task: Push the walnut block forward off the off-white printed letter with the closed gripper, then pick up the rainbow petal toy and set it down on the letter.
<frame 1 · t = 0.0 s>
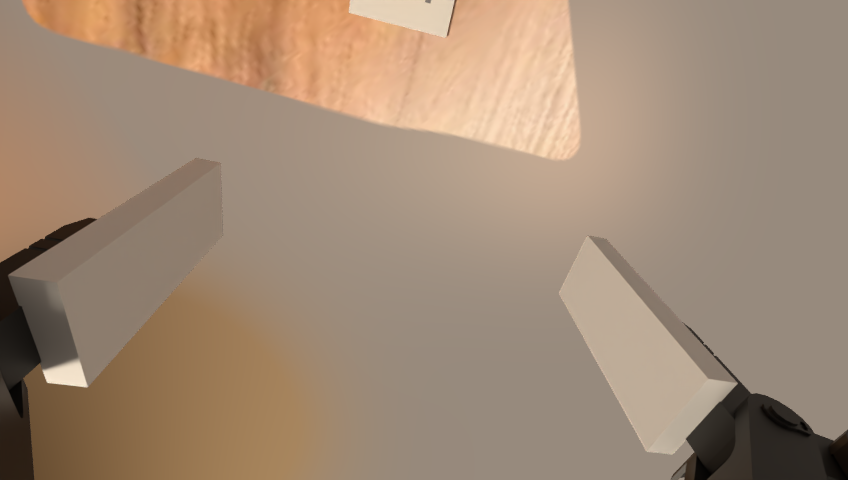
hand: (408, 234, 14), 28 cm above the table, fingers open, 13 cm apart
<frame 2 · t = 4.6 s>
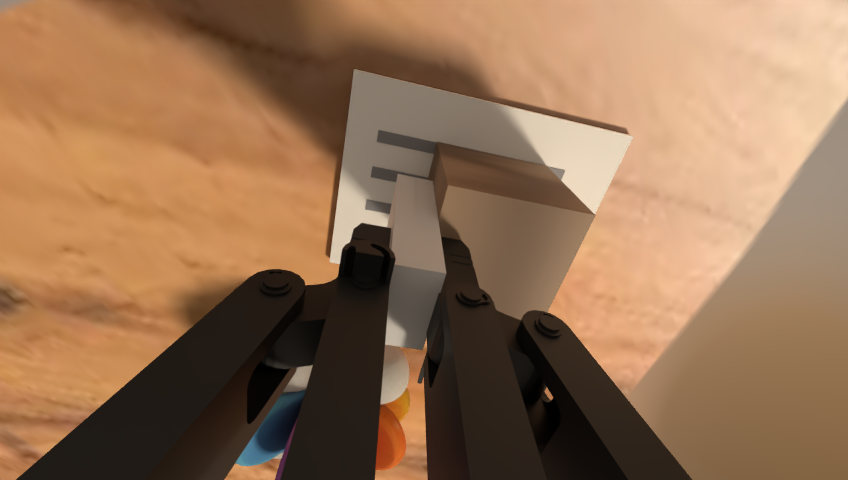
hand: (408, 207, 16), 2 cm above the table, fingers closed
rainbow petal toy: (332, 365, 23), on the table
walnut block: (476, 205, 18), resting on letter, touching gripper
letter: (469, 201, 18), on the table
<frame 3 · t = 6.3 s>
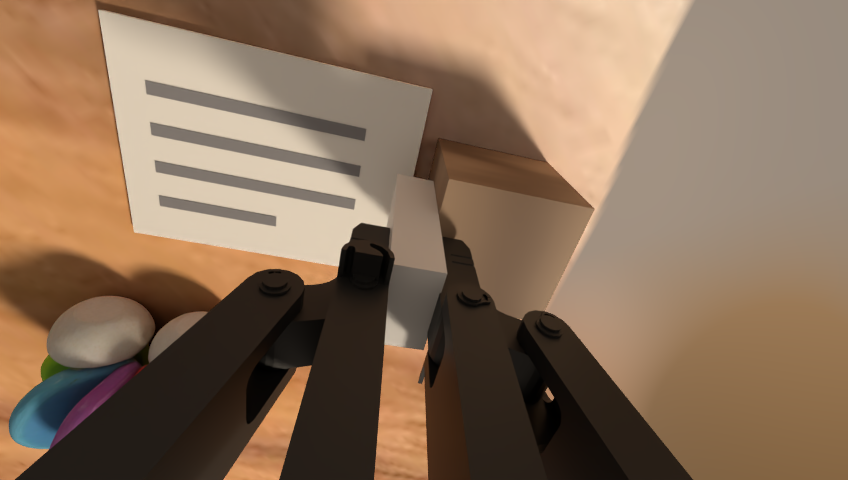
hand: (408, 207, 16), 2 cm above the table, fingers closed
rainbow petal toy: (177, 346, 22), on the table
walnut block: (477, 201, 18), on the table
letter: (273, 164, 16), on the table
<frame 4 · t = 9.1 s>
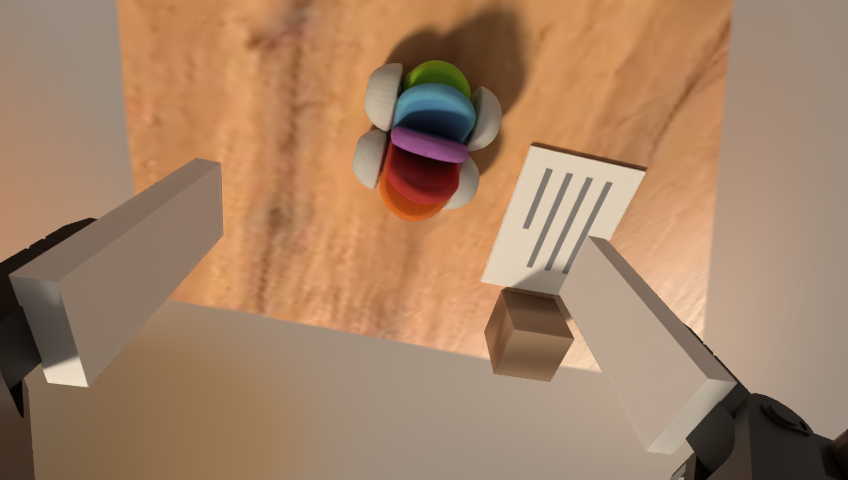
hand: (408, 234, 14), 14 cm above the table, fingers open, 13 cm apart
rainbow petal toy: (423, 132, 27), on the table
walnut block: (518, 315, 35), on the table
letter: (556, 229, 30), on the table
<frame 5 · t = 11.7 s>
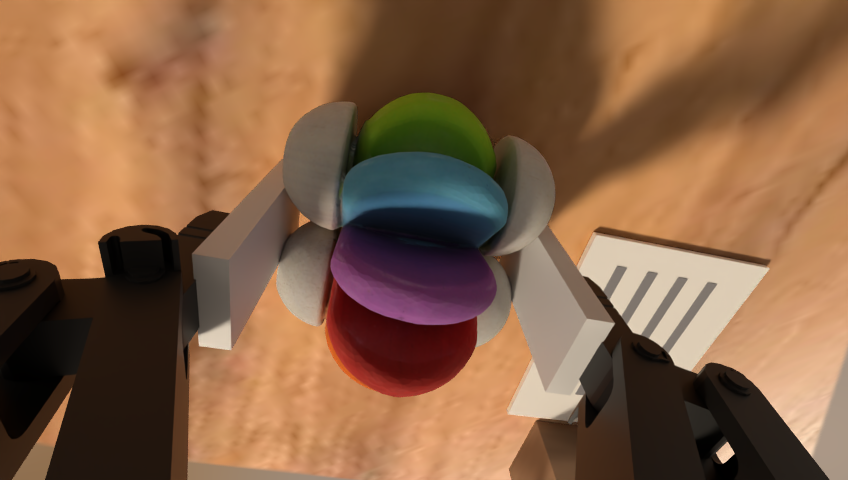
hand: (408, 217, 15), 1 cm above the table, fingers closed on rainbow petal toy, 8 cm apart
rainbow petal toy: (409, 210, 15), point 1 cm above the table, touching gripper
walnut block: (557, 448, 25), on the table
letter: (622, 344, 20), on the table
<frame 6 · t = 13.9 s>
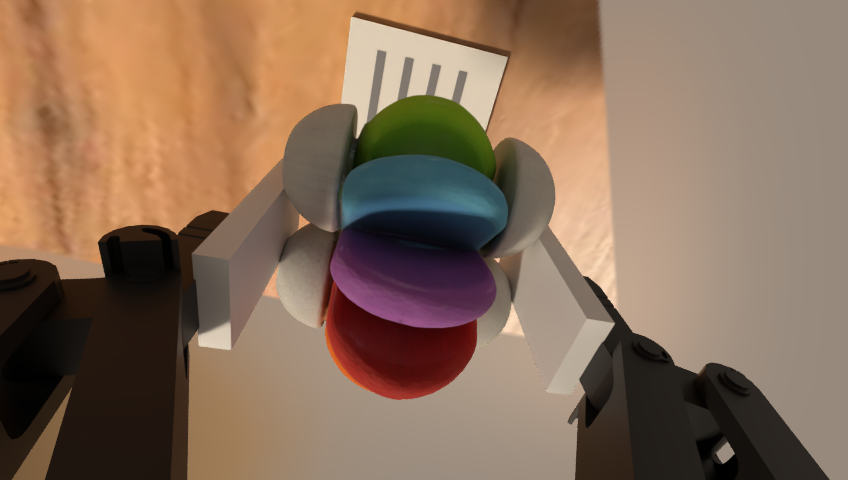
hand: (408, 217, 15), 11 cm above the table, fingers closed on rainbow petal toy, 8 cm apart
rainbow petal toy: (409, 212, 15), point 10 cm above the table, touching gripper
letter: (409, 140, 24), on the table
when the fingers open (1 cm above the table, at t = 16.0 s): rainbow petal toy stays where it is, resting on letter.
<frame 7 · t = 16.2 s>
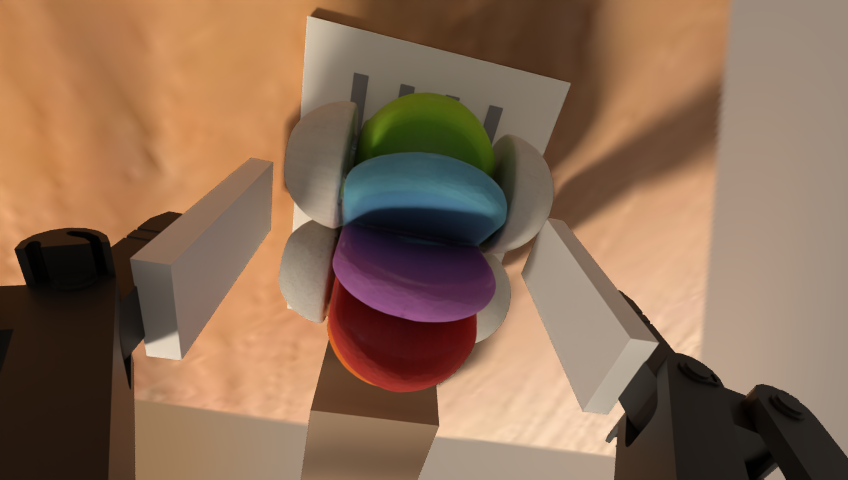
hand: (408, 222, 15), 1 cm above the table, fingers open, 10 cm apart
rainbow petal toy: (409, 208, 15), resting on letter
walnut block: (375, 363, 20), on the table
letter: (408, 209, 16), on the table
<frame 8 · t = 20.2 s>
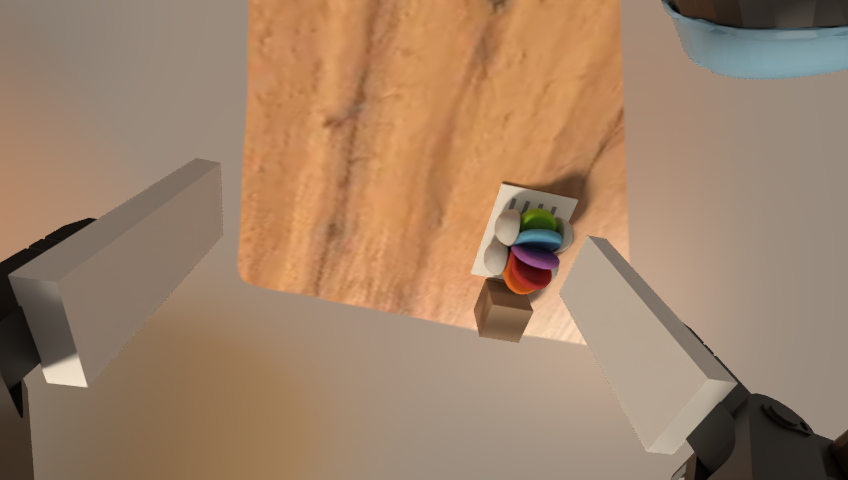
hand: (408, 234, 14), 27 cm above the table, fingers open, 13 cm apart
rainbow petal toy: (522, 237, 45), resting on letter
walnut block: (497, 297, 49), on the table
letter: (521, 237, 45), on the table
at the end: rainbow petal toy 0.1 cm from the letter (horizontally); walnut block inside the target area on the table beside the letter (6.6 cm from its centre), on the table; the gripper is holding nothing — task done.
